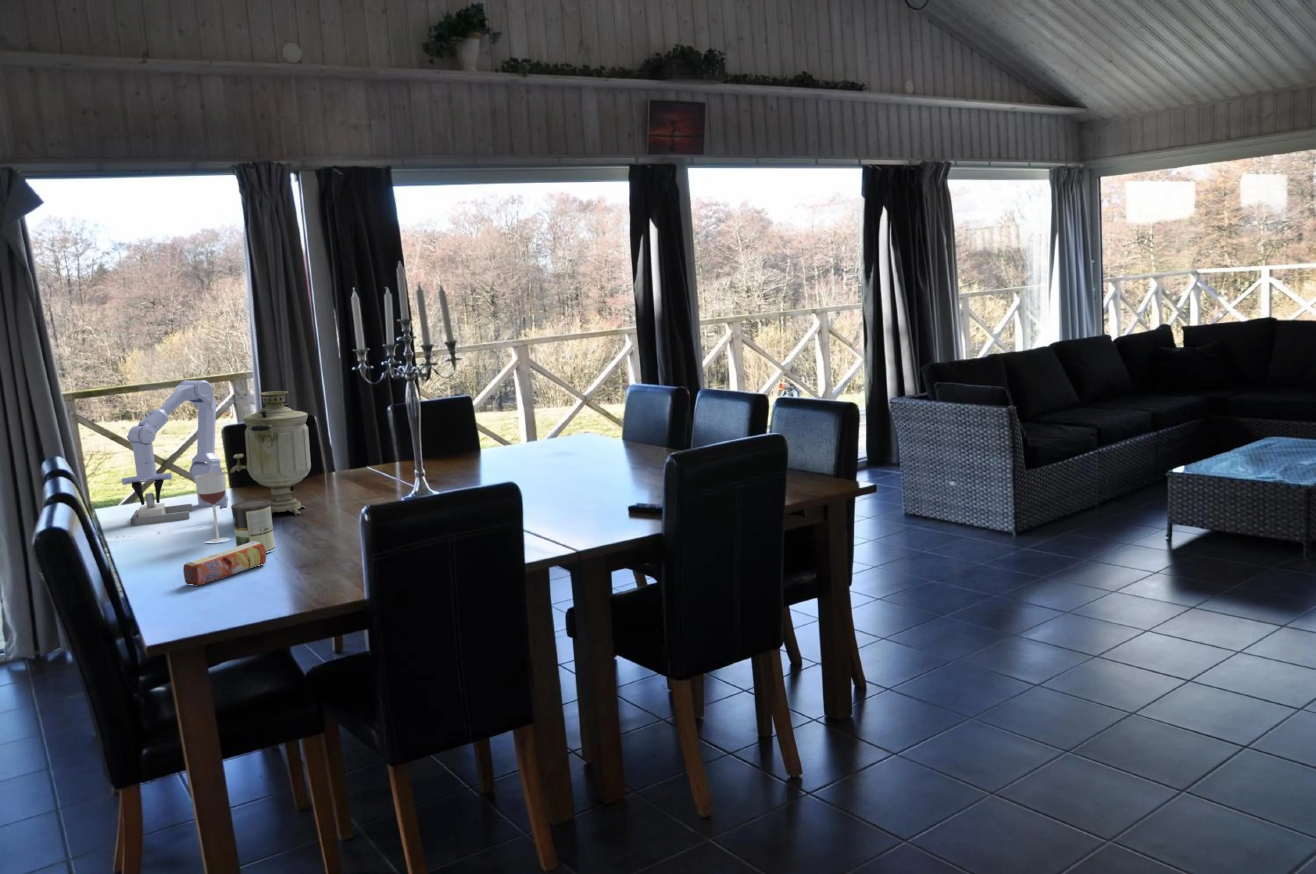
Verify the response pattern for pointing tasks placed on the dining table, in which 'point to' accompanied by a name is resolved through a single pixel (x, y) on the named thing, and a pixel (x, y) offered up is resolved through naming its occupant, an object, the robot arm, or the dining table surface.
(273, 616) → the dining table surface
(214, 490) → the wineglass
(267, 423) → the samovar
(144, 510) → the peg on square base
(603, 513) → the dining table surface
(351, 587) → the dining table surface
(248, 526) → the coffee can
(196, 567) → the snack package
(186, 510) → the bay
